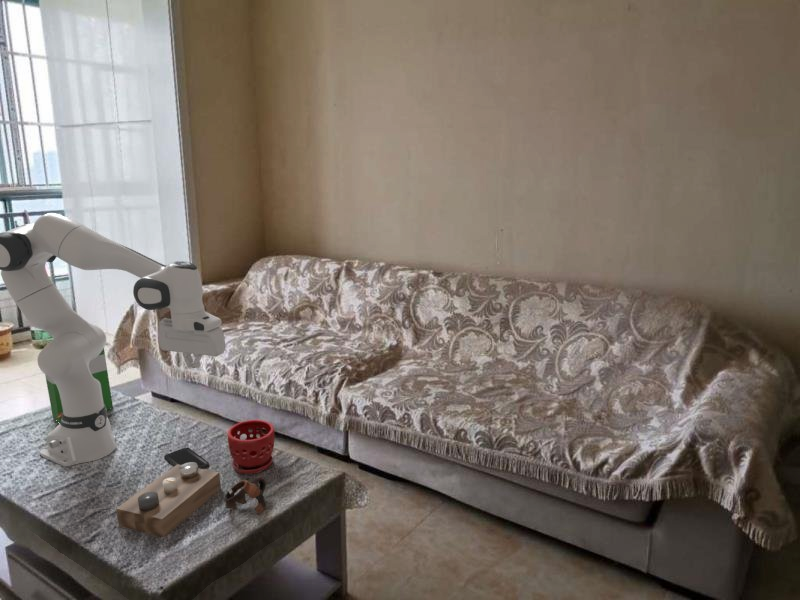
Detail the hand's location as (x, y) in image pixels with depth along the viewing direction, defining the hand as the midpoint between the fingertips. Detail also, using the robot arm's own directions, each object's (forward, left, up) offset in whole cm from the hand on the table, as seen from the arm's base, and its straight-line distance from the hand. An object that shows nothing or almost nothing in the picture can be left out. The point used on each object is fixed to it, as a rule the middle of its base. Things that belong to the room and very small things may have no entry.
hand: (194, 367), depth 163 cm
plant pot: (+14, +4, -31) cm, 34 cm away
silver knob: (+5, -12, -30) cm, 33 cm away
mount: (+5, -20, -31) cm, 37 cm away
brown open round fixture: (+24, -13, -31) cm, 42 cm away
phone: (-7, 0, -32) cm, 32 cm away
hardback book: (-66, +17, -31) cm, 75 cm away
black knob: (+5, -27, -30) cm, 41 cm away
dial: (+5, -20, -26) cm, 33 cm away
